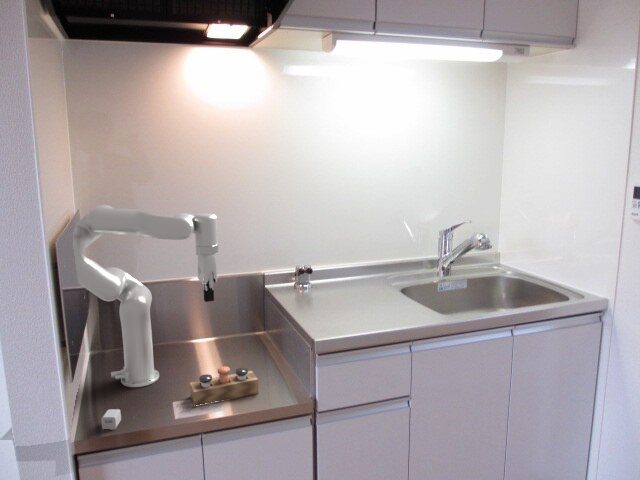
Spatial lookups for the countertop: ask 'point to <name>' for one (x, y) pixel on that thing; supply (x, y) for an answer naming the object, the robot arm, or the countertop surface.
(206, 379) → the grey plug near
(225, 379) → the rust plug
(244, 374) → the grey plug far
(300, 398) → the countertop surface
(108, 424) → the usb wall charger
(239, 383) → the socket strip
